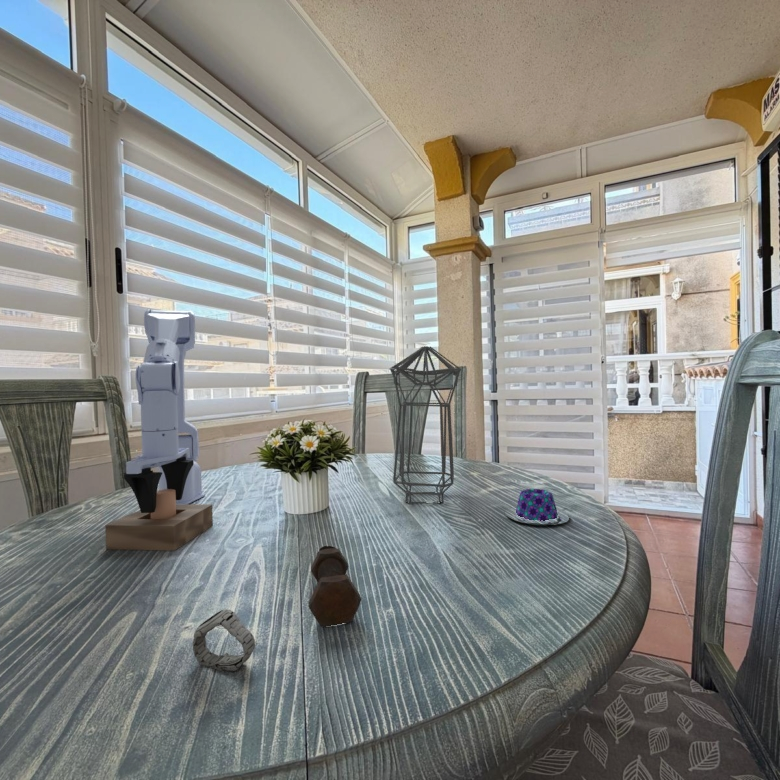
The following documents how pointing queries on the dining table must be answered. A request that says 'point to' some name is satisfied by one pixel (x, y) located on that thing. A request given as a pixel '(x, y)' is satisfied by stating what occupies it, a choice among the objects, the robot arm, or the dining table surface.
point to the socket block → (159, 529)
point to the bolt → (333, 589)
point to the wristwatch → (235, 629)
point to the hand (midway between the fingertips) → (162, 505)
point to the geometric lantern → (404, 366)
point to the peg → (165, 504)
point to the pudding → (536, 505)
